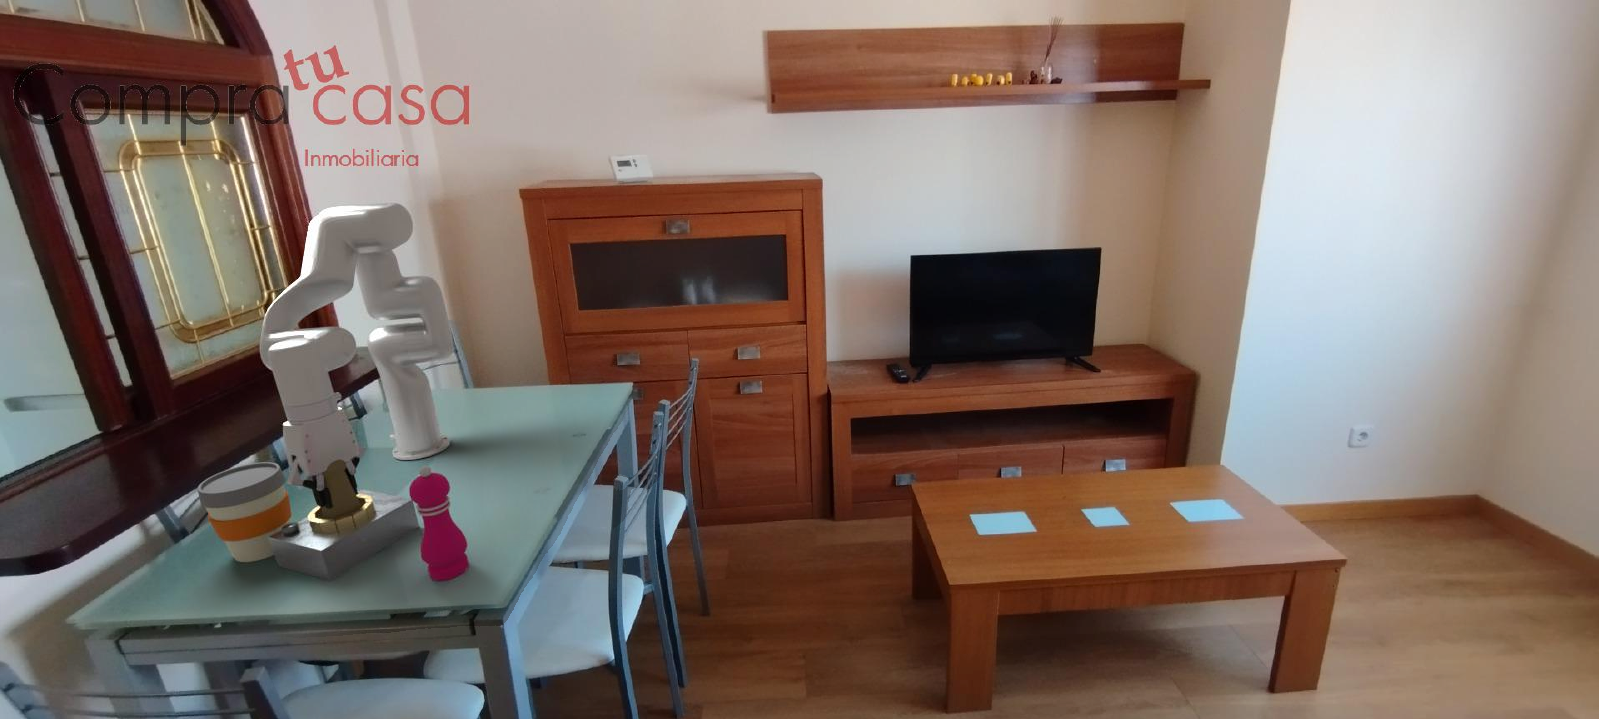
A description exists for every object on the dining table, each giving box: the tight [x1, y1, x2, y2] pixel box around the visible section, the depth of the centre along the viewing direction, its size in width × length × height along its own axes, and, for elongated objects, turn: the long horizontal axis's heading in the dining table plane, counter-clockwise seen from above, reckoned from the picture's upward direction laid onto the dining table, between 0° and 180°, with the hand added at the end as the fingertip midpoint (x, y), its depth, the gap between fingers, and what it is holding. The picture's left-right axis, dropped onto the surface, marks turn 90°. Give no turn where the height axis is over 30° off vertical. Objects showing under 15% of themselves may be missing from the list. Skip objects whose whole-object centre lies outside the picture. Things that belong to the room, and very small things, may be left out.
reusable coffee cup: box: [197, 461, 292, 563], centre depth 129 cm, size 12×13×15 cm
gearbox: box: [269, 488, 420, 581], centre depth 129 cm, size 14×18×8 cm
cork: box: [322, 459, 361, 519], centre depth 127 cm, size 6×6×11 cm
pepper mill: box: [408, 466, 470, 582], centre depth 118 cm, size 7×7×20 cm
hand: (338, 499), depth 128 cm, fingers closed on cork, 4 cm apart
